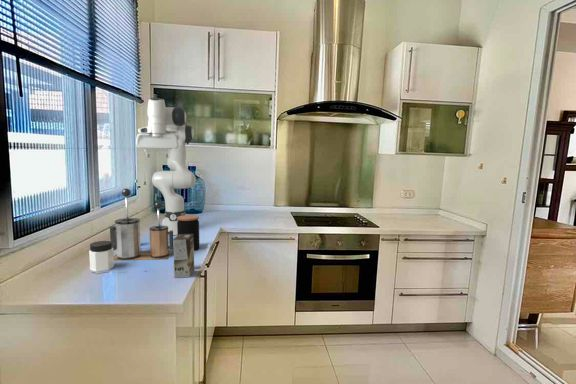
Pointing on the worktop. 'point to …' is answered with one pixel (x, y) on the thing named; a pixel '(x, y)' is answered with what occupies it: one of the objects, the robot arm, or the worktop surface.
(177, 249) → the coffee box
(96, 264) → the jar
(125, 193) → the steel plunger
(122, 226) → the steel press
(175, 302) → the worktop surface
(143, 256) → the board
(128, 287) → the worktop surface
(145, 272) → the worktop surface
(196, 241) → the coffee jar
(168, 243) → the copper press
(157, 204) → the ball knob plunger
